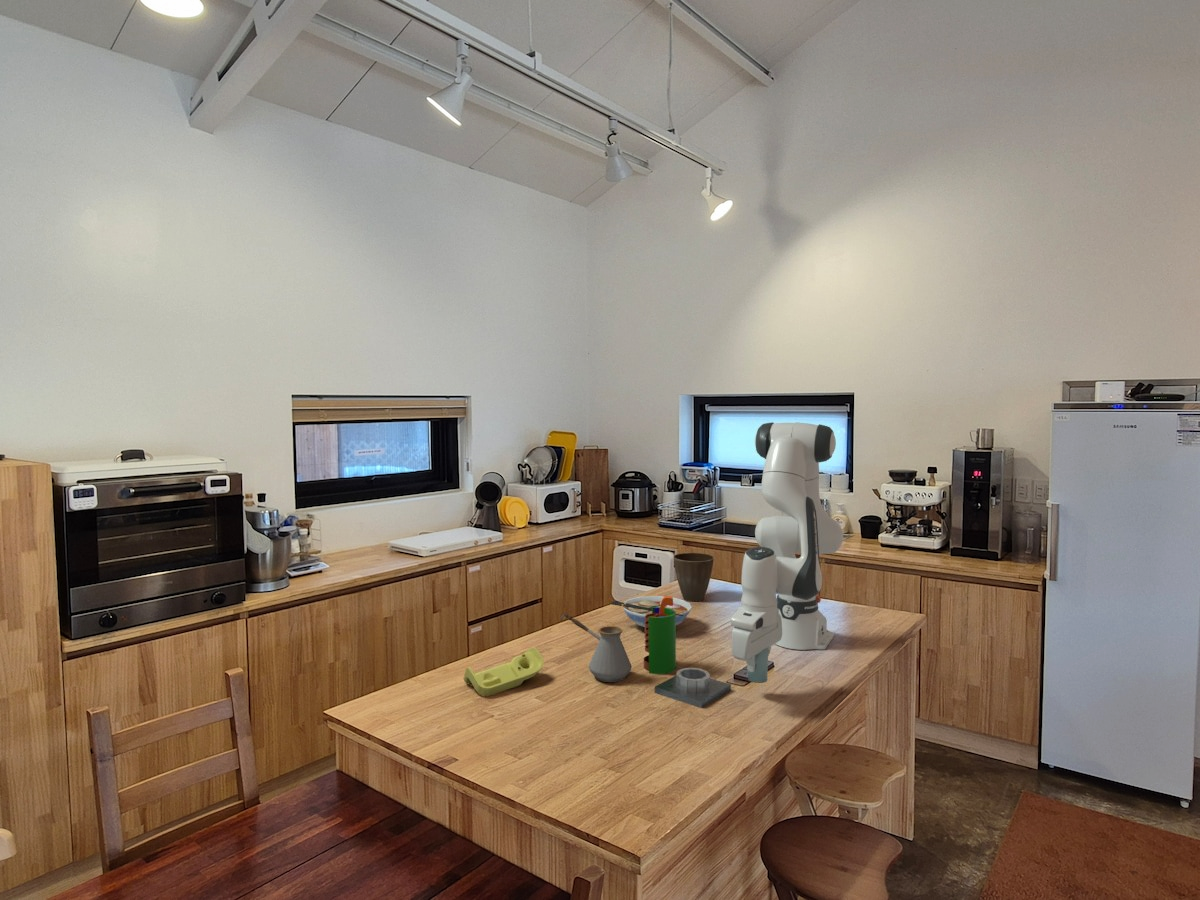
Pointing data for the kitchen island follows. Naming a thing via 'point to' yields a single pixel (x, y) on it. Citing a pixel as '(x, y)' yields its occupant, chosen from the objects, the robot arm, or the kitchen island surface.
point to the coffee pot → (607, 654)
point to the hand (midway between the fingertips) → (757, 666)
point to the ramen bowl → (643, 606)
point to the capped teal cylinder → (760, 668)
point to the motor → (661, 638)
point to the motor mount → (693, 687)
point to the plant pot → (693, 574)
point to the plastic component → (506, 673)
